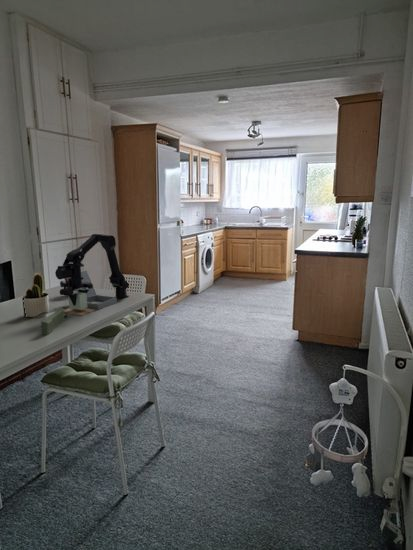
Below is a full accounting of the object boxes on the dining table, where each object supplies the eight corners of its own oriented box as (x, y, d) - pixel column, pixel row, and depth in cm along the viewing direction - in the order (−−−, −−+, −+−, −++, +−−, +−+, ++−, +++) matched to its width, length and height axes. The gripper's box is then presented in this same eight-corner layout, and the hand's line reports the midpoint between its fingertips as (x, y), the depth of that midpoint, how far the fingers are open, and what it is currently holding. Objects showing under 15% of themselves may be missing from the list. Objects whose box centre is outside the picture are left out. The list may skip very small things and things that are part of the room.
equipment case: (87, 298, 226) (85, 270, 223) (116, 302, 216) (115, 273, 213) (68, 304, 212) (65, 275, 209) (98, 309, 203) (96, 278, 199)
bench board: (75, 306, 208) (75, 305, 208) (96, 310, 202) (96, 309, 202) (60, 312, 199) (60, 311, 198) (81, 316, 192) (81, 314, 192)
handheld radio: (40, 335, 166) (63, 317, 191) (48, 336, 166) (69, 318, 190) (39, 321, 165) (62, 305, 189) (47, 321, 165) (69, 305, 189)
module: (76, 305, 204) (75, 291, 202) (87, 307, 200) (86, 293, 199) (69, 308, 199) (68, 293, 198) (80, 309, 196) (79, 295, 194)
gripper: (77, 271, 208) (79, 298, 211) (50, 278, 191) (53, 306, 195) (92, 273, 203) (94, 300, 206) (66, 279, 187) (69, 309, 190)
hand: (78, 304), depth 199 cm, fingers closed on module, 5 cm apart
